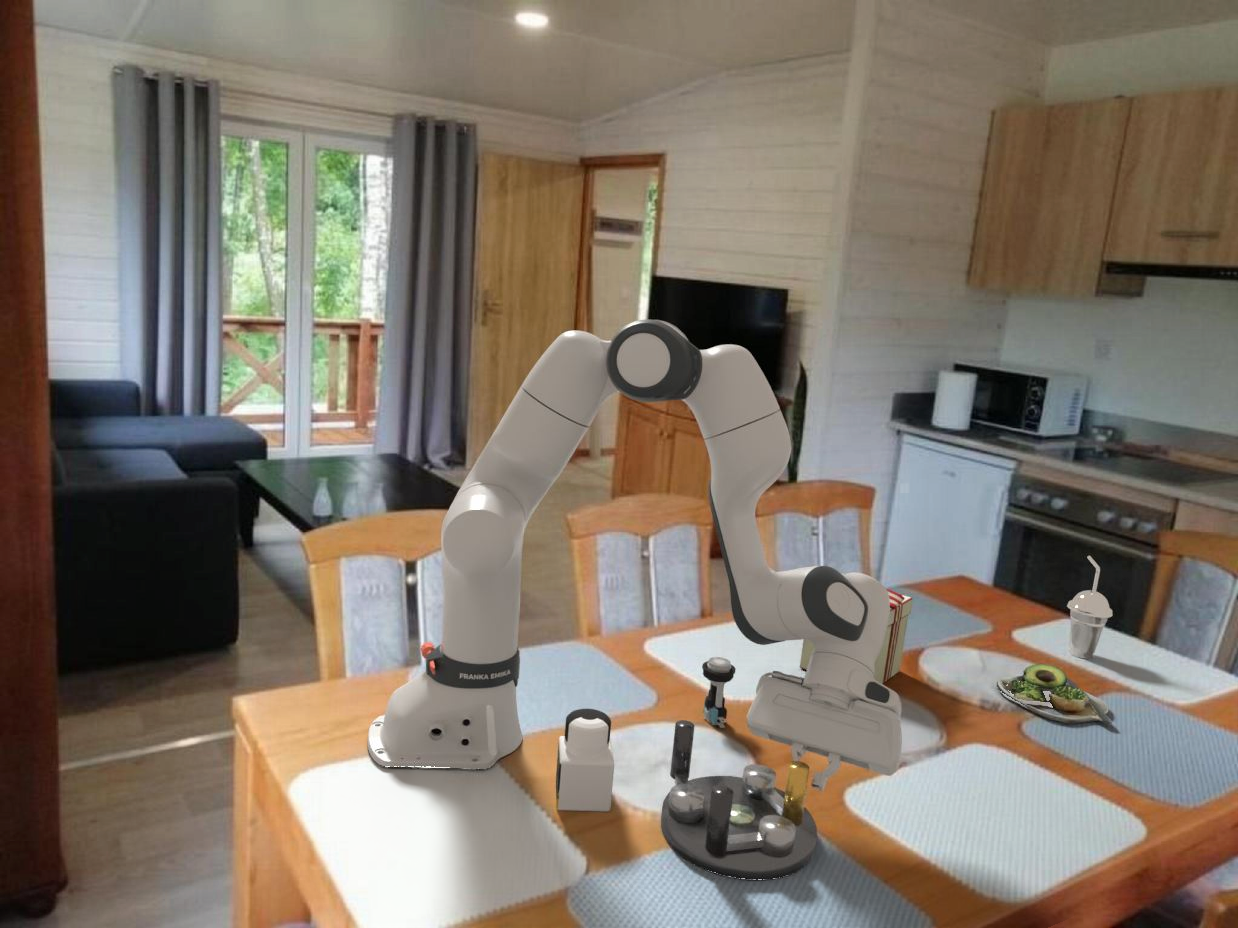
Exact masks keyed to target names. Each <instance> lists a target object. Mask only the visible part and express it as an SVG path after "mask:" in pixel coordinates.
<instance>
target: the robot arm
mask: <svg viewBox="0 0 1238 928" xmlns="http://www.w3.org/2000/svg"><path fill="white" fill-rule="evenodd" d="M618 393H621V394H623V396H625V397H627V398H629V399H630V400H634V401H637V402H644V403H659V402H665V401H678V400H679V401H682V402H684V403H685V404H686V405H687V406H688V408H689V409H690V411H691V412H692V414H693V415H694V418H695V419H696V423H697V424H698V428H699V431H700V433H701V435H702V438H703V439H704V440H703V441H704V444H705V447H706V449H707V453H708V458H709V463H710V472H711V473H710V474H711V475H710V479H709V483H708V487H707V488H708V489H707V490H708V491H707V493H708V499H709V501H708V502H709V506H710V511H711V512H710V513H711V516H712V520H713V524H714V528H715V532H716V536H717V540H718V543H719V546H720V551H721V556H722V558H723V563H724V568H725V570H726V575H727V580H728V583H729V584H728V585H729V595H730V606H731V614H732V617H733V620H734V623H735V625H736V627H737V628H738V630H739V631H740V632H741V634H742V635H743V636H744V637H745V638H746V639H747V640H749V641H751V642H752V643H754V644H756V645H761V646H765V645H766V646H767V645H771V644H777V643H782V642H786V641H798V640H803V639H808V640H809V641H811V642H812V643H813V644H814V647H815V648H814V651H813V653H812V655H811V658H810V661H809V664H808V667H807V670H806V672H805V675H804V677H801V676H797V675H793V674H787V673H783V672H782V671H779V670H773V671H772V672H766V673H764V674H762V675H761V676H760V678H759V680H758V683H757V685H756V689H755V693H756V695H755V697H754V699H753V701H752V703H751V704H750V707H749V709H748V712H747V714H746V718H745V720H746V725H747V728H748V729H749V731H750V733H751V735H754V736H756V737H758V738H759V737H760V738H764V739H766V740H770V741H773V742H776V743H780V744H781V745H786V746H789V747H791V749H790V751H791V755H792V759H793V761H800V758H801V759H802V758H804V757H805V753H806V752H809V753H813V754H816V755H818V756H822V757H825V758H827V763H828V765H827V766H826V767H825V768H824V769H823V770H822V771H821V772H819V771H814V773H813V778H812V780H811V788H813V789H815V790H819V791H822V792H824V791H825V788H826V785H827V781H828V780H829V779H831V777H833V776H834V774H836V773H837V772H838V771H840V767H841V763H845V764H848V765H852V766H855V767H858V768H861V769H865V770H868V771H871V772H874V773H878V774H880V775H883V776H884V775H885V776H888V777H890V776H892V775H894V774H895V773H896V772H898V770H899V766H900V762H901V761H900V760H901V754H902V746H903V745H902V744H903V743H902V742H903V736H902V735H903V734H902V725H901V721H900V719H901V717H902V711H903V710H902V709H903V706H902V701H901V698H900V696H899V694H898V693H897V692H896V691H894V690H893V689H891V688H890V687H888V686H886V685H884V683H883V684H881V683H879V682H878V681H876V680H874V677H875V662H876V659H877V657H878V655H879V654H880V652H881V650H882V648H883V644H884V640H885V636H886V632H887V627H888V622H889V615H890V599H889V594H888V592H887V590H886V589H887V588H886V587H885V586H884V585H883V584H882V583H881V582H880V581H879V580H877V579H876V578H874V577H872V576H870V575H868V574H866V573H863V572H855V571H853V572H847V573H841V572H840V571H838V570H837V569H836V568H833V567H831V566H828V565H814V566H805V567H799V568H798V567H797V568H794V569H789V570H782V571H775V570H773V569H772V568H771V567H770V566H769V564H768V562H767V560H766V559H767V558H766V555H765V551H764V550H765V549H764V547H763V546H764V545H763V543H762V539H761V535H760V531H759V528H758V527H759V526H758V523H757V519H756V509H757V504H758V502H759V499H760V498H761V496H762V495H763V494H764V493H765V492H766V491H767V490H768V489H769V488H770V487H771V486H772V485H773V484H774V483H775V482H776V481H777V480H778V479H780V477H781V476H782V474H783V473H784V471H785V469H786V468H787V466H788V463H789V462H790V459H791V454H792V441H791V435H790V432H789V428H788V425H787V423H786V419H785V418H784V416H783V413H782V410H781V408H780V405H779V403H778V400H777V397H776V396H775V393H774V391H773V390H772V386H771V385H770V383H769V381H768V379H767V377H766V376H765V373H764V372H763V370H762V369H761V367H760V366H759V364H758V362H757V360H756V359H755V357H754V356H753V355H752V353H751V352H750V351H749V350H748V349H747V348H745V347H743V346H741V345H738V344H732V343H730V344H726V343H725V344H719V345H715V346H713V347H710V348H707V349H700V348H698V347H697V346H695V345H694V344H693V343H691V342H690V340H689V339H688V338H687V336H686V334H685V333H684V332H682V331H681V330H680V329H679V328H678V327H677V326H676V325H674V324H672V323H670V322H668V321H665V320H660V319H648V318H647V319H645V318H644V319H639V320H634V321H632V322H629V323H627V324H626V325H624V326H623V327H622V328H620V329H619V330H618V331H617V332H616V333H615V335H614V336H613V337H612V339H611V340H605V339H602V338H600V337H598V336H597V335H594V334H593V333H591V332H587V331H584V330H578V329H577V330H573V329H572V330H568V331H564V332H563V333H561V334H560V335H559V336H557V338H555V340H554V341H553V342H552V343H551V344H550V345H549V346H548V347H547V349H546V350H545V351H544V352H543V353H542V355H541V356H540V357H539V359H538V360H537V362H536V363H534V366H533V367H532V368H531V370H530V371H529V373H528V374H527V375H526V377H525V379H524V381H523V382H522V383H521V385H520V387H519V388H518V390H517V392H516V394H515V396H514V397H513V399H512V401H511V403H510V404H509V406H508V408H507V409H506V410H505V412H504V415H503V416H502V418H501V419H500V421H499V423H498V425H497V426H496V428H495V430H494V431H493V433H492V435H491V436H490V438H489V440H488V442H486V445H485V447H484V448H483V449H482V451H481V453H480V455H479V456H478V458H477V460H476V462H475V463H474V465H473V466H472V468H471V469H470V472H469V473H468V475H467V476H466V478H465V480H464V481H463V482H462V484H461V486H460V488H459V489H458V491H457V492H456V495H455V497H454V499H453V501H452V502H451V504H450V506H449V509H448V510H447V512H446V514H445V515H444V518H443V521H442V524H441V536H440V537H441V543H440V545H441V546H440V547H441V548H440V549H441V551H440V552H441V553H440V554H441V555H440V556H441V578H442V579H441V581H442V593H443V594H442V598H443V599H442V619H441V621H442V622H441V642H440V644H439V645H438V646H436V647H435V644H433V642H430V641H426V642H424V643H422V645H421V647H420V651H421V656H422V657H423V658H424V659H425V670H424V671H422V672H421V673H419V674H418V675H416V676H415V677H414V678H412V679H411V680H409V681H407V682H406V683H404V684H403V685H401V686H400V687H398V688H396V689H395V690H394V691H393V692H392V693H391V695H390V698H389V699H388V703H387V705H386V709H385V713H384V714H383V715H379V716H378V717H376V718H375V719H374V720H373V721H372V722H371V724H370V726H369V728H368V734H367V748H368V752H369V754H370V757H371V758H372V760H374V761H375V762H376V763H377V764H378V765H379V766H381V765H382V766H381V767H383V766H390V767H394V766H397V767H398V766H399V767H401V766H405V767H408V766H414V767H415V766H421V767H422V766H424V767H426V766H431V767H434V766H435V767H450V768H462V769H461V770H464V769H463V768H467V769H466V770H476V769H478V768H479V769H484V770H488V769H491V766H492V767H493V766H494V764H496V763H497V761H499V759H501V758H503V757H505V756H507V755H510V754H512V752H514V751H516V749H518V748H519V746H520V745H521V743H522V740H523V732H522V728H521V724H520V720H519V713H518V703H517V686H518V682H519V679H520V669H521V666H520V665H521V656H520V655H521V654H520V650H519V648H518V640H519V639H518V638H519V625H520V623H519V622H520V609H521V607H520V606H521V582H522V580H521V579H522V578H521V577H522V556H523V555H522V554H523V543H524V541H523V540H524V535H525V531H526V527H527V525H528V522H529V520H530V518H531V517H532V515H533V513H534V512H535V510H536V509H537V507H538V506H539V504H540V503H541V501H542V500H543V499H544V497H545V496H546V494H547V493H548V492H549V490H550V489H551V487H552V486H553V484H554V483H555V482H556V480H557V479H558V478H559V477H560V476H561V474H562V472H563V471H564V469H565V467H566V466H567V464H568V462H569V461H570V460H571V458H572V456H573V454H574V453H575V452H576V449H577V448H578V446H579V445H580V443H581V441H582V440H583V438H584V437H585V435H586V433H587V432H588V430H589V428H590V427H591V425H592V423H593V421H594V420H595V418H596V416H597V415H598V413H599V411H600V410H601V408H602V407H603V406H604V404H605V403H606V402H607V400H609V399H610V398H611V397H612V396H613V395H615V394H618ZM800 762H801V761H800ZM468 768H470V769H468ZM473 768H474V769H473ZM487 768H488V769H487Z"/></svg>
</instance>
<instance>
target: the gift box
mask: <svg viewBox="0 0 1238 928" xmlns="http://www.w3.org/2000/svg"><path fill="white" fill-rule="evenodd" d="M886 590H887V592H888V594H889V599H890V615H889V622H888V627H887V632H886V636H885V640H884V644H883V648H882V650H881V652H880V654H879V655H878V657H877V659H876V662H875V677H874V680H876V681H878V682H879V683H881V684H883V685H884V683H886V682H887V681H889V680H890V679H891V678H893V677H894V676H895V675H897V674H898V673H899V672H900V670H901V664H902V659H903V651H904V646H905V638H906V632H907V627H908V620H909V615H910V614H911V612H912V608H913V599H914V598H913V597H911V596H907V595H905V594H902V593H898V592H896V591H894V590H891V589H889V588H886ZM802 641H803V642H802V648H801V654H800V660H799V662H800V663H799V667H800V669H803V670H806V671H807V667H808V664H809V661H810V658H811V655H812V653H813V651H814V648H815V647H814V644H813V643H812V642H811V641H809V640H808V639H802Z"/></svg>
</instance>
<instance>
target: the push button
mask: <svg viewBox="0 0 1238 928" xmlns="http://www.w3.org/2000/svg"><path fill="white" fill-rule="evenodd" d="M701 666H702V667H701V668H702V670H703V671H702V675H703V677H704V678H706V679H707V680H708V681H709V690H708V695H707V696H705V698H704V705H703V718H704V719H705V720H707V719H708V721H709V723H711V725H712V726H719V728H720V729H722V728H723V729H725V728H726V726H725V725H724V723H726V722H727V721H726V719H727V715H728V709H727V708H726V707H725V703H726V702H725V701H726V698H725V697H724V691H725V690H724V689H725V684H726V683H729V682H731V681H732V680H733V678H734V675H735V674H736V667H735V666H734V665H733V664H732V663H731V661H730V660H729V659H727V658H725V657H722V656H721V657H719V656H713V657H710V658H709V659H708V661H705V662H703V663H702V665H701Z"/></svg>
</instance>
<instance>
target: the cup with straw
mask: <svg viewBox="0 0 1238 928" xmlns="http://www.w3.org/2000/svg"><path fill="white" fill-rule="evenodd" d="M1087 559H1088V561H1089V562H1090V563H1091V564H1092V565H1093V567H1094V568H1095V574H1094V580H1093V586H1092V590H1091V589H1089V590H1082V591H1080V592H1078V593H1076V595H1075V596H1073V598H1072V599H1071V600H1069V601H1068V603H1067V605H1066V607H1067V608H1068V609H1070V611H1069V612H1070V613H1069V615H1070V617H1069V618H1070V632H1069V651H1068V653H1069V654H1070V655H1072V656H1074V657H1077V658H1078V659H1086V660H1090V659H1091V660H1092V659H1093V658H1094V654H1095V652H1096V650H1097V647H1098V643H1099V641H1100V638H1101V635H1102V631H1103V629H1104V627H1105V626H1106V623H1107V621H1108V619H1109V618H1112V617H1113V614H1114V613H1113V609H1112V608H1110V604H1109V601H1108V599H1107V598H1106V597H1105V596H1104V595H1103V594H1102V593H1100V592H1098V591H1097V590H1098V589H1097V588H1098V584H1099V578H1100V573H1101V567H1100V566H1099V565H1098V564H1097V562H1096V561H1095V560H1094V559H1093V557H1092V556H1091V555H1088V556H1087Z"/></svg>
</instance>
